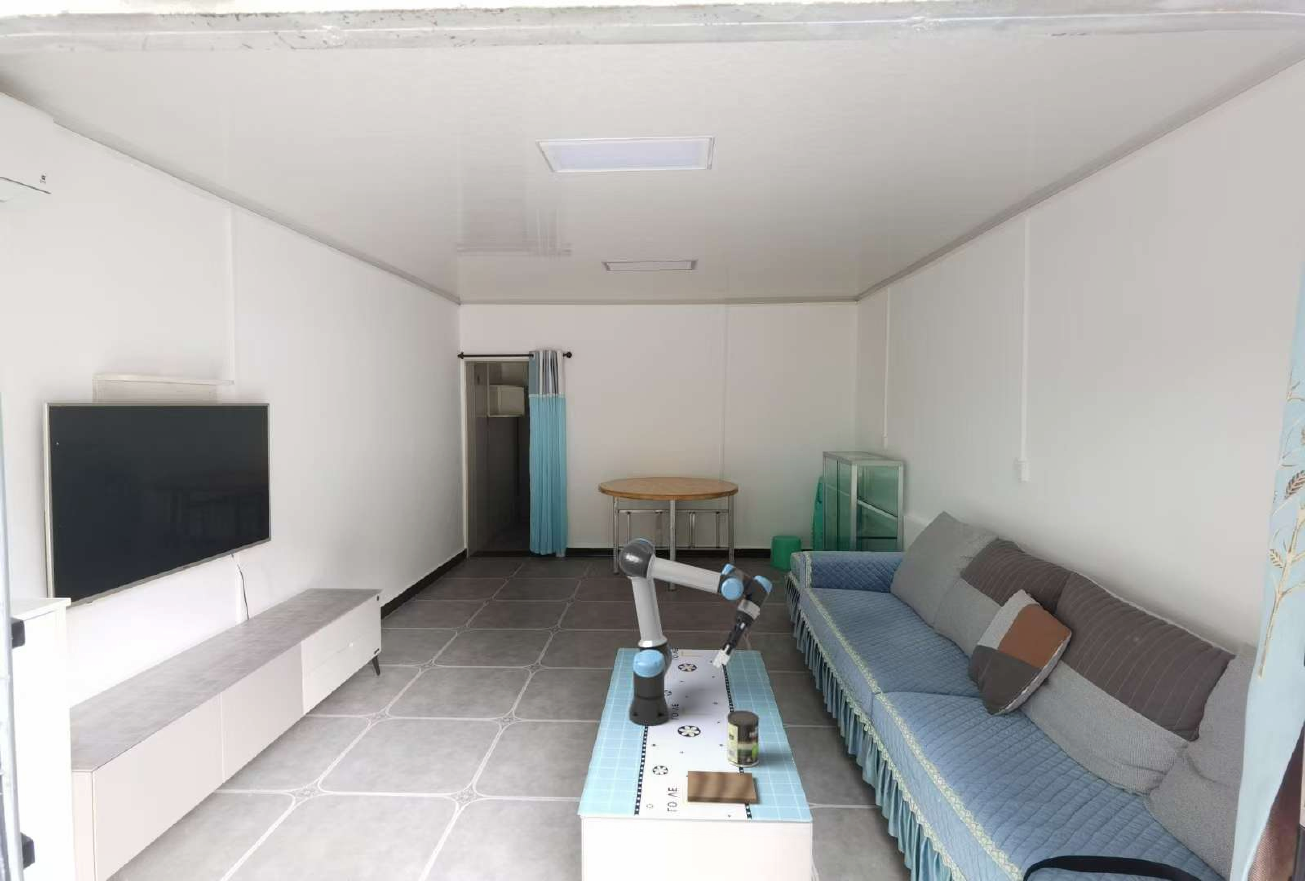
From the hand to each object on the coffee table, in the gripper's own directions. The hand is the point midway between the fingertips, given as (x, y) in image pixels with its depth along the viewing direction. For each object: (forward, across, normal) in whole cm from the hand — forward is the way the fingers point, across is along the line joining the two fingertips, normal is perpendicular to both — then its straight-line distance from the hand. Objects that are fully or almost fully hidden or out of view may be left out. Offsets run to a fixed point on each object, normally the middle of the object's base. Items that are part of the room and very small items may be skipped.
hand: (718, 665), depth 237 cm
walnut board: (+35, -27, -15) cm, 47 cm away
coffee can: (+24, -12, -20) cm, 33 cm away
